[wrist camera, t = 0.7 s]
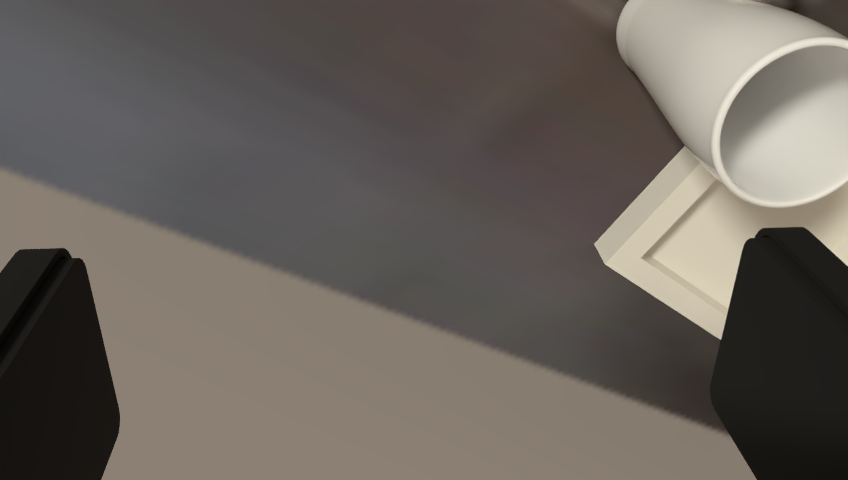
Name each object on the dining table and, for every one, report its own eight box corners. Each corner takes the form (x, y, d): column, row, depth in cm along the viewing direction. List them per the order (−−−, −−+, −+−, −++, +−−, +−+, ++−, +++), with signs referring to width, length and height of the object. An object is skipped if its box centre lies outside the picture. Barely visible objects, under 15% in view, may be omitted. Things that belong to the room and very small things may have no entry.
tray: (764, 59, 43) (785, 72, 40) (914, 189, 47) (940, 206, 45) (594, 243, 48) (604, 264, 46) (745, 344, 52) (761, 366, 50)
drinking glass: (715, -61, 39) (893, 7, 26) (733, 63, 43) (898, 178, 30) (586, -14, 40) (697, 74, 27) (613, 104, 43) (723, 234, 30)
